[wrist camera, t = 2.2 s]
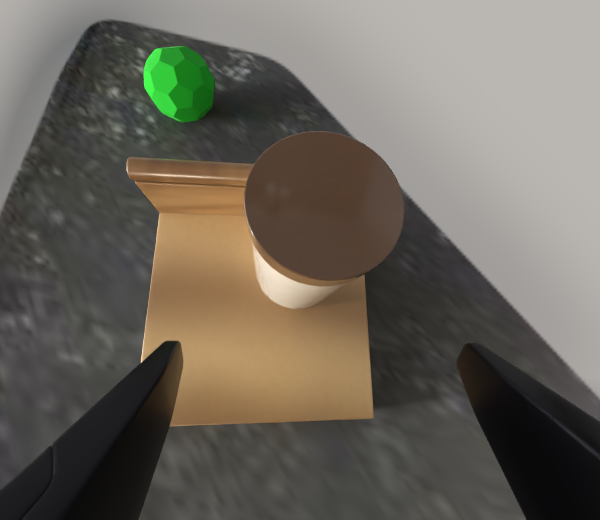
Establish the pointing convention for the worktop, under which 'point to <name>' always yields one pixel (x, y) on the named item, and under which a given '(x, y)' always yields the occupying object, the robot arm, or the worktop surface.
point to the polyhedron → (179, 83)
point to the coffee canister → (319, 215)
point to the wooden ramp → (242, 311)
